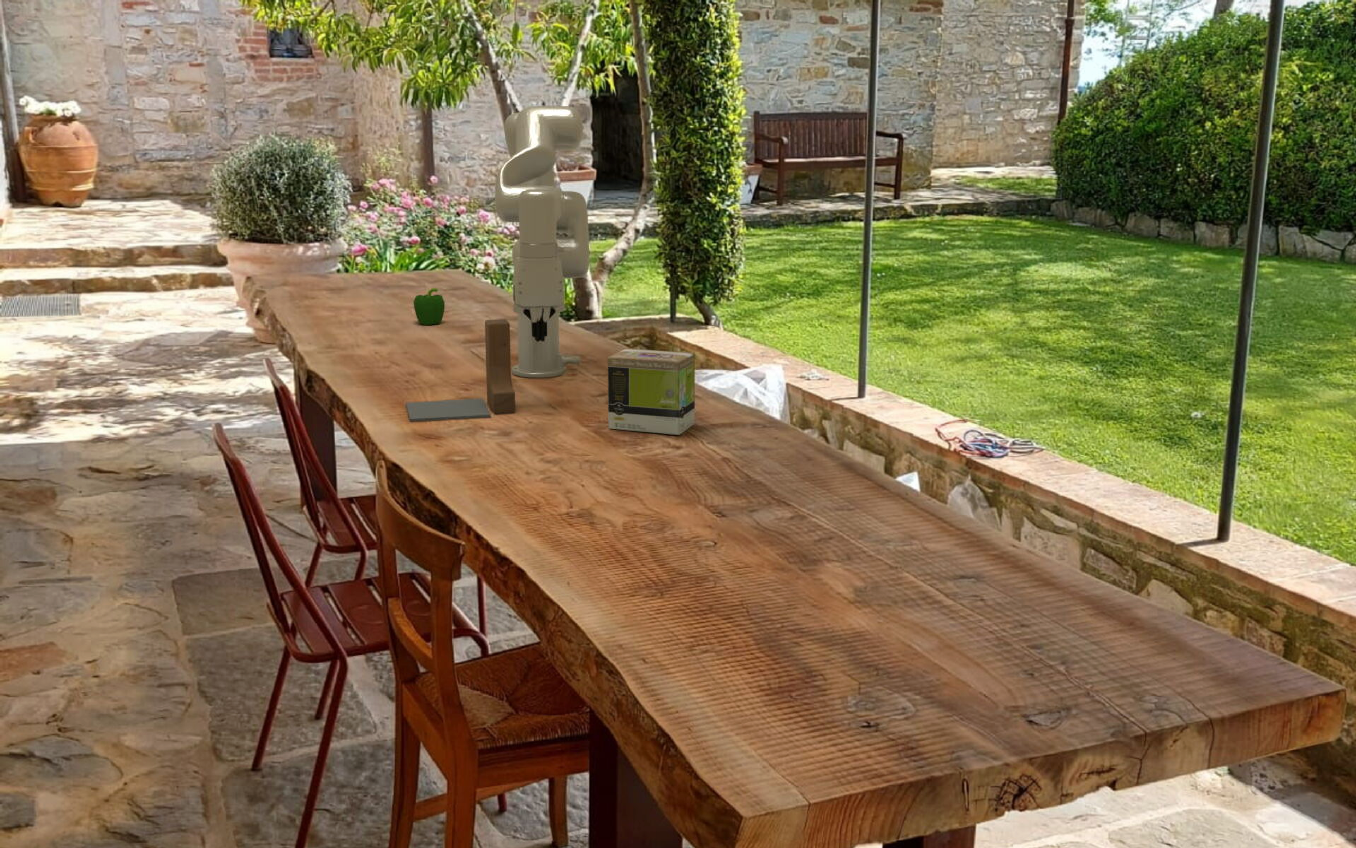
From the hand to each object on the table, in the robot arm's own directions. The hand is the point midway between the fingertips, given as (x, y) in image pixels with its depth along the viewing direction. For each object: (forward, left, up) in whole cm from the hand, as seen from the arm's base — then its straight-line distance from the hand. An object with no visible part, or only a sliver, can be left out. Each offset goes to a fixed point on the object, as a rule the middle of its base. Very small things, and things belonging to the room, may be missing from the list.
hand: (539, 340), depth 266 cm
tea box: (-19, +21, -14) cm, 32 cm away
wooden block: (+8, 0, -14) cm, 17 cm away
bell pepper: (+15, -100, -14) cm, 102 cm away
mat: (+19, 0, -14) cm, 24 cm away
